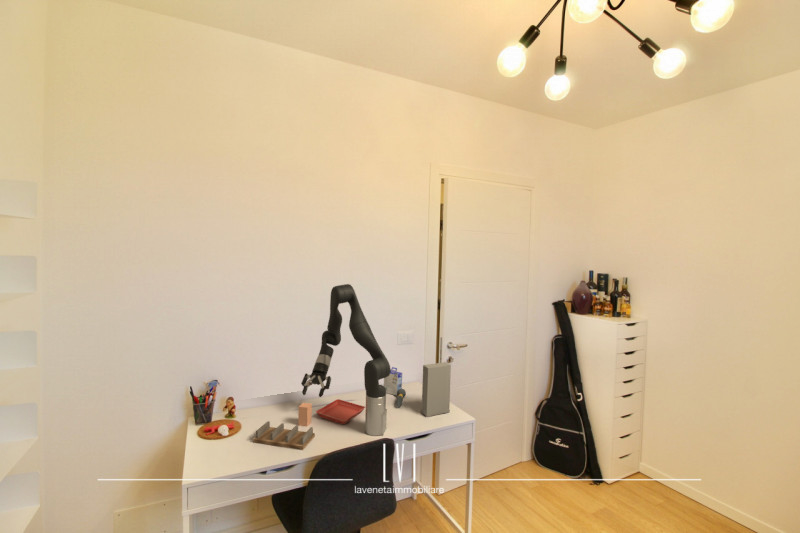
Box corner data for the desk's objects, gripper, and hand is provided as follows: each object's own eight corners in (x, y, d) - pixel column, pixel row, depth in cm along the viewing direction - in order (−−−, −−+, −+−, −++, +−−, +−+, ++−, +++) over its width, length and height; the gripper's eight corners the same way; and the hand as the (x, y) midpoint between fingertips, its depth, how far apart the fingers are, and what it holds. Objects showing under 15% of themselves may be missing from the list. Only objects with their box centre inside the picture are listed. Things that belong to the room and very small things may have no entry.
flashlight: (404, 409, 185) (404, 400, 185) (395, 409, 185) (395, 399, 185) (406, 394, 205) (406, 386, 204) (397, 394, 205) (397, 385, 205)
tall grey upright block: (443, 407, 188) (444, 361, 187) (449, 412, 182) (451, 365, 181) (420, 412, 182) (422, 364, 181) (426, 417, 176) (428, 368, 175)
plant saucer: (365, 412, 181) (365, 406, 180) (344, 427, 165) (344, 420, 164) (337, 404, 189) (337, 398, 189) (314, 418, 173) (314, 411, 173)
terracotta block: (311, 422, 168) (311, 403, 168) (307, 426, 164) (307, 407, 164) (302, 420, 169) (303, 402, 169) (298, 425, 165) (298, 406, 164)
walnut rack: (314, 436, 155) (314, 426, 155) (303, 450, 145) (303, 439, 144) (267, 429, 160) (268, 420, 160) (253, 442, 149) (253, 432, 149)
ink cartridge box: (402, 393, 206) (402, 368, 205) (397, 396, 201) (398, 371, 201) (388, 389, 211) (388, 365, 210) (383, 392, 206) (383, 368, 206)
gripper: (307, 360, 182) (295, 390, 172) (332, 363, 179) (323, 393, 169) (311, 367, 188) (300, 397, 177) (336, 370, 185) (327, 400, 174)
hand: (311, 395), depth 173 cm, fingers open, 8 cm apart
